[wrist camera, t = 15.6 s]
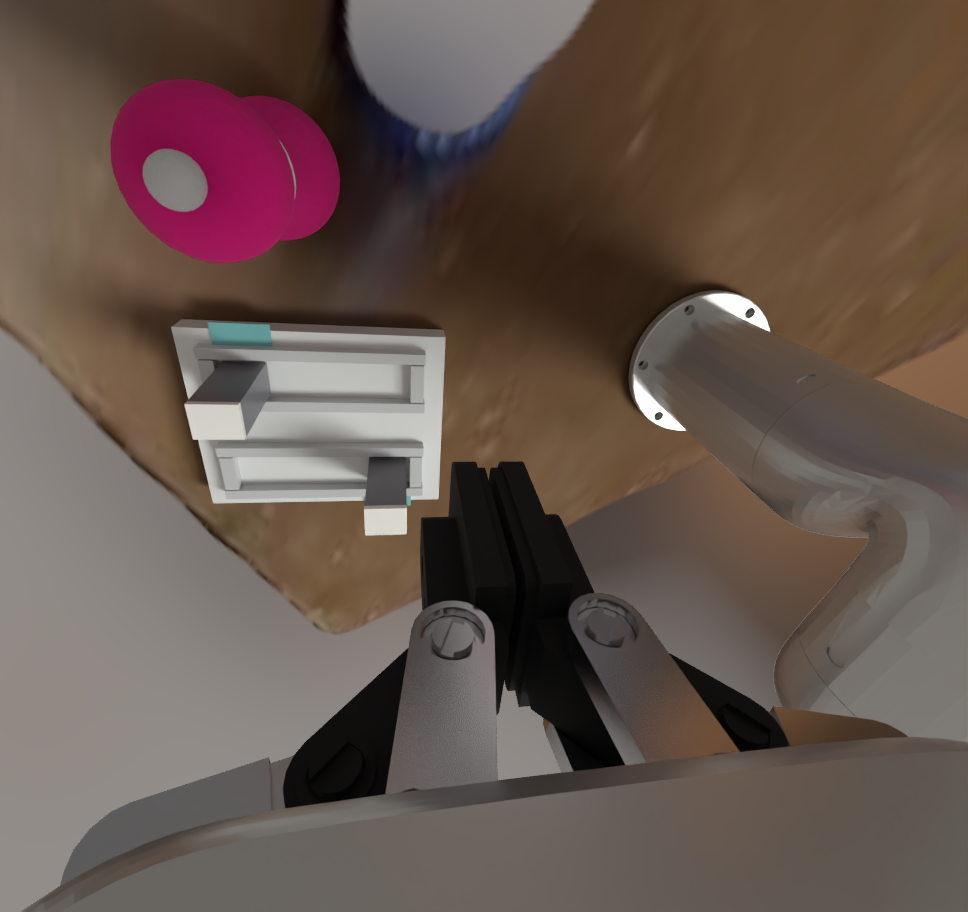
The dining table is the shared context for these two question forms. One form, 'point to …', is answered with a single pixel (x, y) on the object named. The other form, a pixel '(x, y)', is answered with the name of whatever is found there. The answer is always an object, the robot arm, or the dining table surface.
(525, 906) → the robot arm
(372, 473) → the tab
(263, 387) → the tab
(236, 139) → the pepper mill
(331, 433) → the switch board
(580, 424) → the dining table surface
